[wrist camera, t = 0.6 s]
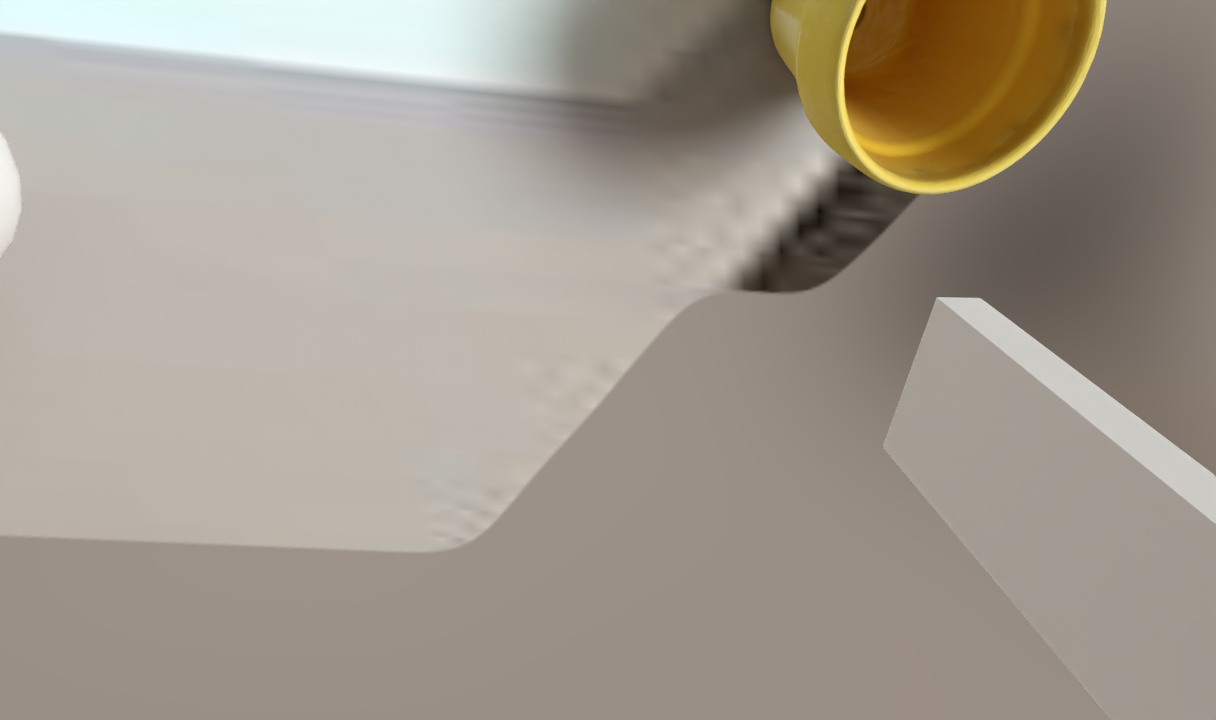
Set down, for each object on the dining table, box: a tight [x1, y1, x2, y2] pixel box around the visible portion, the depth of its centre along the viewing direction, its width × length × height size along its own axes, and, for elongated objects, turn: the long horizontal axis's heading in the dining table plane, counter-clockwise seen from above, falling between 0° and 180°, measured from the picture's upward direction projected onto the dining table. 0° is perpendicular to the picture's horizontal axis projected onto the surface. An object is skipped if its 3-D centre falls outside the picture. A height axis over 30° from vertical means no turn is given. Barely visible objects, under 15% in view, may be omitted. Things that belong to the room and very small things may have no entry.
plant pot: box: [770, 0, 1106, 194], centre depth 33 cm, size 10×10×10 cm
